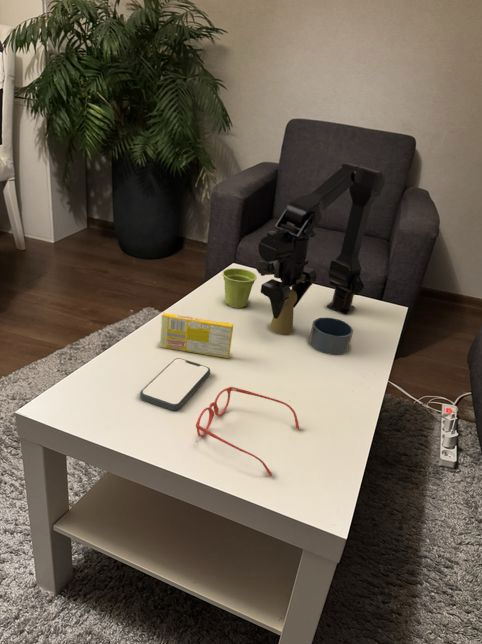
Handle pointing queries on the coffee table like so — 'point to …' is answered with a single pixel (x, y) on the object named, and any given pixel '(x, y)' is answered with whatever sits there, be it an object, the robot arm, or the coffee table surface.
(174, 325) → the candy box
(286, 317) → the brown cylinder with knob
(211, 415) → the red eyeglasses
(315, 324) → the blue-grey round bowl
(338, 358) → the coffee table surface
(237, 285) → the plant pot
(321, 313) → the coffee table surface
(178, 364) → the smartphone
